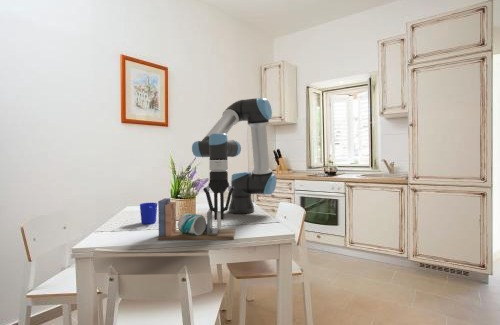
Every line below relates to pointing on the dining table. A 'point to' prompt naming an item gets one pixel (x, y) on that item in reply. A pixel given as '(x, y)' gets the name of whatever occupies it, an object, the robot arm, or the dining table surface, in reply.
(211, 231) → the bookend
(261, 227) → the dining table surface
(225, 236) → the shelf
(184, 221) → the mug
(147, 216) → the mug
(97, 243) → the dining table surface
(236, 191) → the robot arm
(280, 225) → the dining table surface
